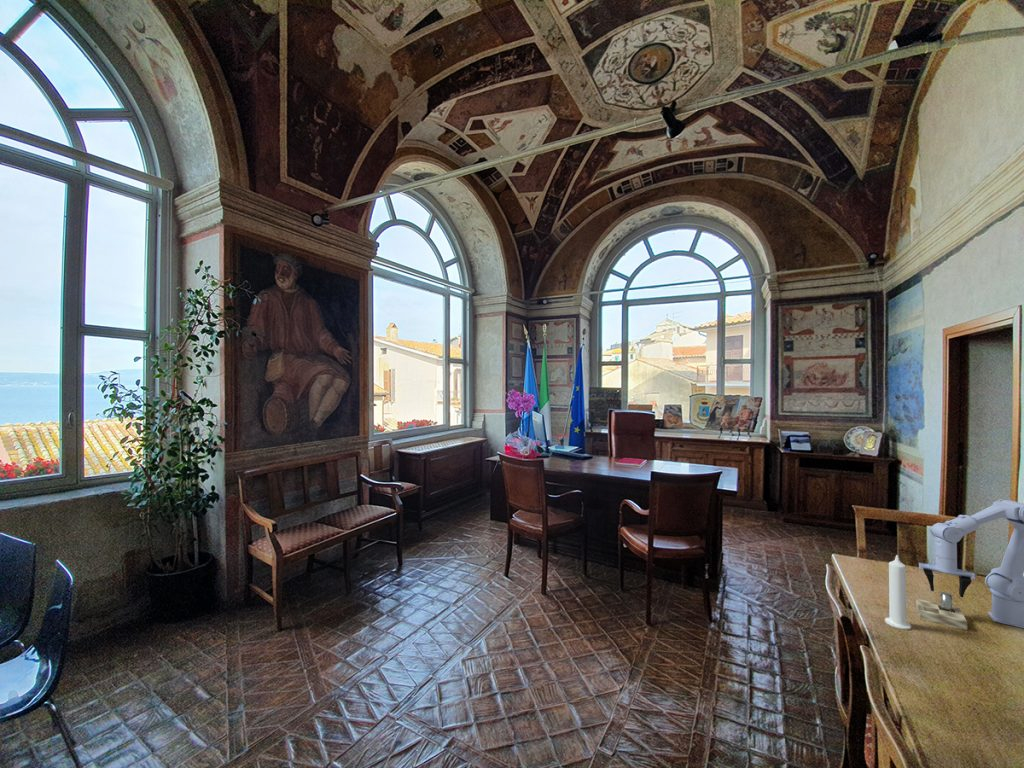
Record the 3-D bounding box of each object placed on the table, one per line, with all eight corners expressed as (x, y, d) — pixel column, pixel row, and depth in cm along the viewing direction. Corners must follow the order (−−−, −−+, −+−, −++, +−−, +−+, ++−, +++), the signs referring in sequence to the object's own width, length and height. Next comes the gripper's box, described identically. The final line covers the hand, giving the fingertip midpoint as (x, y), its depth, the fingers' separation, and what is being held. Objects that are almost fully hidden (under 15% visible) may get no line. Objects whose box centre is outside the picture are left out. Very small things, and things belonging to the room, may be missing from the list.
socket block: (959, 616, 158) (959, 608, 158) (967, 630, 149) (967, 621, 149) (915, 605, 166) (915, 598, 166) (920, 619, 156) (920, 610, 156)
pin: (951, 615, 158) (951, 593, 158) (953, 618, 155) (952, 596, 156) (940, 612, 160) (940, 591, 160) (941, 615, 157) (941, 594, 157)
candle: (916, 631, 148) (915, 559, 149) (893, 628, 150) (892, 558, 150) (902, 620, 155) (901, 552, 156) (880, 618, 157) (879, 550, 157)
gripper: (971, 557, 157) (971, 594, 156) (917, 548, 165) (918, 583, 165) (976, 564, 151) (977, 602, 151) (920, 554, 160) (921, 590, 160)
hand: (946, 593), depth 158 cm, fingers open, 7 cm apart
